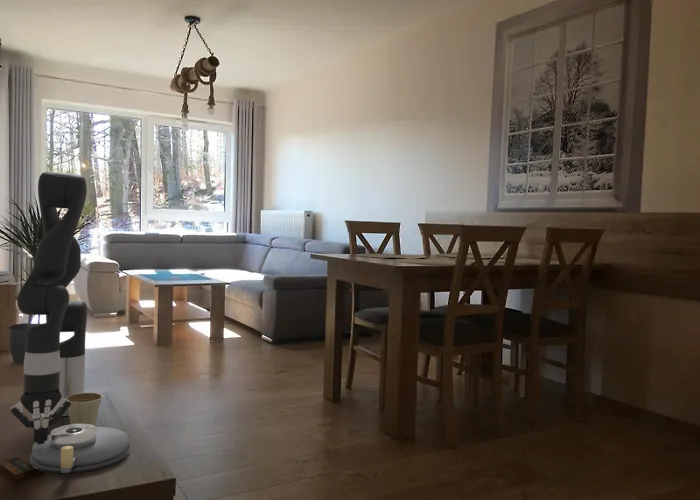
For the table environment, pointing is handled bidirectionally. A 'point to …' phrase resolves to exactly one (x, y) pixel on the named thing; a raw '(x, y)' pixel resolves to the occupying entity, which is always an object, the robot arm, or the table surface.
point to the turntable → (82, 450)
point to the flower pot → (84, 408)
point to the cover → (73, 436)
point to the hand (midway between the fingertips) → (40, 443)
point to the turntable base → (81, 468)
